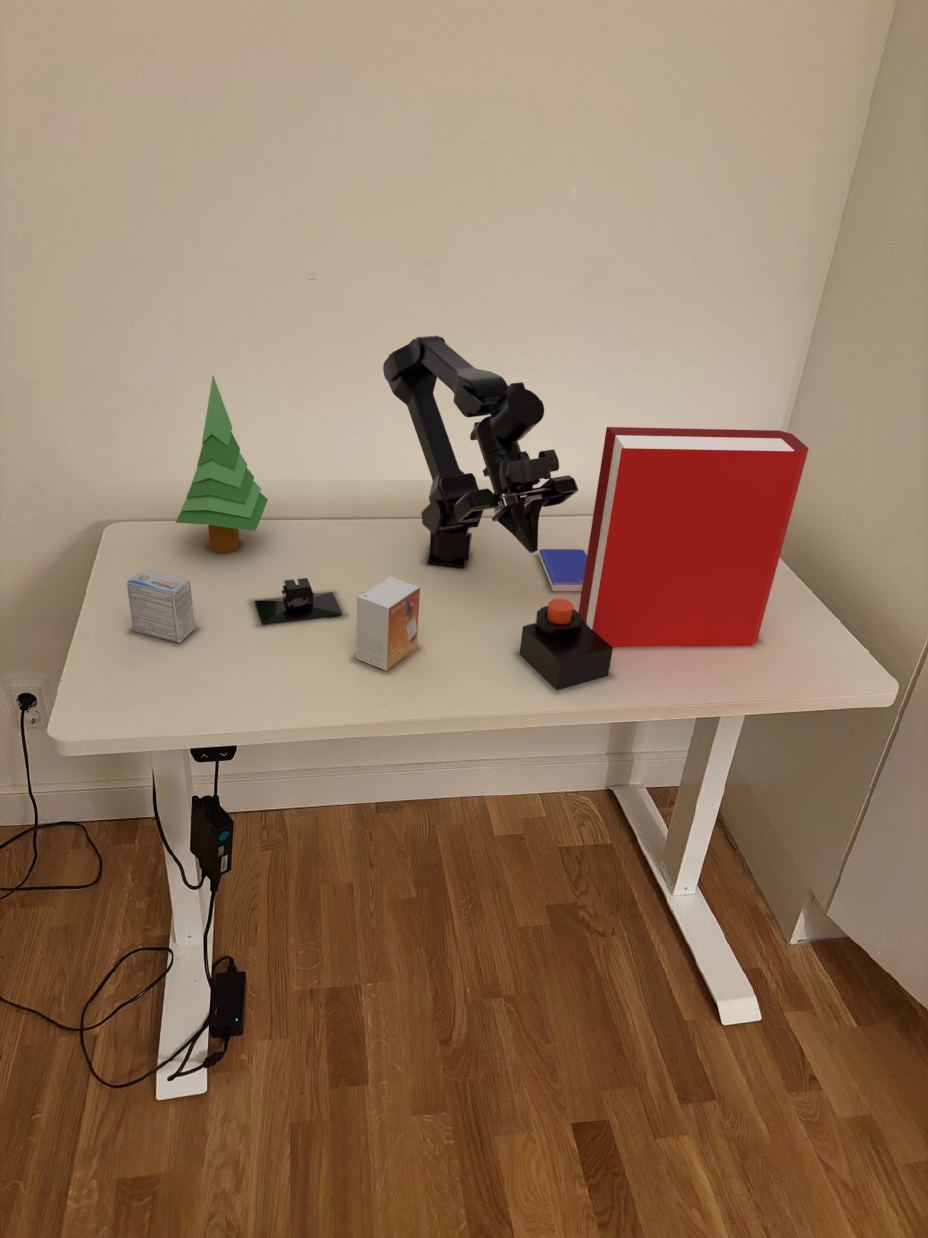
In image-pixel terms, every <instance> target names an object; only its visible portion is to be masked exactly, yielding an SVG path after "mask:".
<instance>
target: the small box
mask: <svg viewBox="0 0 928 1238" xmlns="http://www.w3.org/2000/svg"><path fill="white" fill-rule="evenodd" d="M420 596H421V587H420V586H418V585H415V584H412V583H410V582H408V581H405V580H402V579H400V578H397V577H394V576H391V575H388V576H387V577H386V578H385V579H383V580H381V581H379V582H378V583H377V584H376V585H374V586H373V587H371V588H369V589H367V590H366V591H365V592H363V593H361V594H359V595H357V596H356V627H355V628H356V629H355V630H356V633H355V635H356V640H355V641H356V644H355V648H356V649H355V659H356V660H358V661H361V662H363V663H366V664H367V665H368V664H369V665H370V666H373V667H376V668H378V669H379V670H380V669H381V670H383V671H386V672H388V671H389V670H390V669H391V668H392V667H394V666H395V665H396V664H398V663H399V662H400V661H402V660H403V659H404V658H406V657H407V656H408V655H410V654H411V653H412V652H414V651H416V649H418V631H419V613H420V598H421V597H420Z"/></svg>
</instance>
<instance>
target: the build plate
mask: <svg viewBox="0 0 928 1238" xmlns="http://www.w3.org/2000/svg"><path fill="white" fill-rule="evenodd" d="M281 587H282V589H281V594H282V597H275V598H265V599H257V600H254V601H253V602H254V606H255V610H256V612H257V615H258V618H259V621H260V624H261V626H269V625H276V624H277V625H278V624H284V623H292V622H293V623H294V622H301V621H310V620H318V619H334V618H339V617H342V616H343V612H342V610H341V607H340V606H339V603H338V601H337V599H336V596H335V595H334V592H332V591H326V592H319V593H314V591H313V589H312V586H311V584H310V581H309V579H308V577H304V578H303V577H302V578H297V583H296V580H295V579H285V580H283V585H282V586H281Z"/></svg>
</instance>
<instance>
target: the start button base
mask: <svg viewBox="0 0 928 1238" xmlns="http://www.w3.org/2000/svg"><path fill="white" fill-rule="evenodd" d="M547 612H548V605H546V606H541V608H539V609H538V610H537V611H536V615H535V616H536V617H535V622H533V623H530V624H526V625H522V631H521V641H520V647H519V656H520V657H522V658H523V660H524V661H526V662H527V663H528V664H529V665H530V666H531V667H532V668H533V669H534V670H535V671H536V672H537V674H539V675H540V676H541V677H542V678H543V679H544V680H545V681H546V682H547V683H548V684H549V685H550V686H551V687H553V689H554V690H555V691H559V690H563V689H567V688H571V687H575V686H577V685H582V684H584V683H588V682H592V681H596V680H599V679H602V678H607V677H609V673H610V667H611V662H612V657H613V651H614V647H612V646H611V645H609V644H608V643H607V642H606V641H605V640H604V639H602V638H601V637H600V636H599V635H598V634H597V633H595V632H594V631H593V630H592V629H591V628H589V627H588V625H587V623H586V622H584V621H582V617H581V614H579V613H578V612H579V611H577V610H576V609H574V608H573V614H572V620H571V622H570V623H567V624H556V623H553V622H550V621H549V620H548V619H547Z"/></svg>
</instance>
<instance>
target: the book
mask: <svg viewBox="0 0 928 1238" xmlns="http://www.w3.org/2000/svg"><path fill="white" fill-rule="evenodd" d="M809 449H810V448H809V447H808V446H807V445H806V444H804V442H802V441H801V440H800V439H799V438H798V437H796V436H795V435H794V434H793V433H790V432H786V431H782V430H777V429H776V430H771V429H725V428H724V429H723V428H679V427H673V428H672V427H633V426H632V427H629V426H606V429H605V435H604V443H603V448H602V454H601V461H600V469H599V474H598V482H597V488H596V495H595V500H594V507H593V515H592V521H591V527H590V534H589V541H588V547H587V553H586V555H587V560H586V566H585V573H584V579H583V586H582V591H581V593H580V601H579V607H578V611H577V612H578V613H579V614H581V617H582V622H584V623H585V624H586V625H587V626H588V627H589V628H591V629H592V630H593V631H594V632H595V633H597V634H598V635H599V636H600V637H601V638H602V639H604V640H605V641H606V642H607V643H608V644H609V645H611V646H612V647H613V648H640V647H641V648H645V647H646V648H648V647H649V648H650V647H651V648H653V647H732V646H733V647H738V646H740V647H741V646H742V647H743V646H744V647H746V646H747V647H749V646H753V645H754V644H756V643H757V642H758V639H759V634H760V631H761V627H762V624H763V620H764V616H765V612H766V609H767V606H768V601H769V597H770V594H771V591H772V586H773V582H774V579H775V575H776V572H777V568H778V564H779V560H780V556H781V553H782V549H783V545H784V541H785V538H786V534H787V531H788V527H789V524H790V523H789V522H790V519H791V516H792V512H793V508H794V504H795V501H796V497H797V493H798V489H799V486H800V483H801V478H802V476H803V471H804V468H805V464H806V460H807V456H808V452H809Z"/></svg>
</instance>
